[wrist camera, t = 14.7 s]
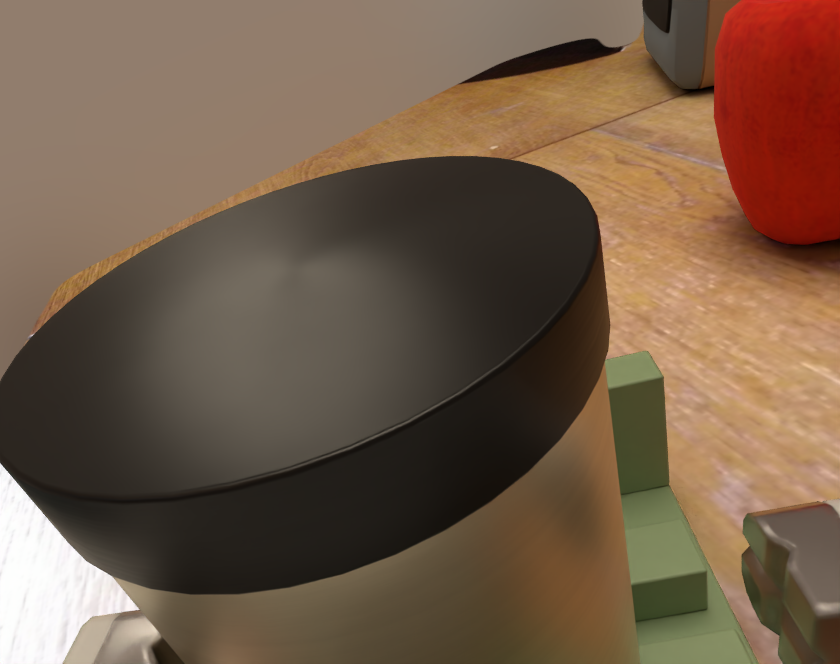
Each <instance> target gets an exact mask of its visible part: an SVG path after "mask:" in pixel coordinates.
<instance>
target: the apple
mask: <svg viewBox="0 0 840 664" xmlns="http://www.w3.org/2000/svg"><path fill="white" fill-rule="evenodd" d="M714 119H715V124H716V129H717V134H718V139H719V144H720V148H721V153H722V157H723V160H724V163H725V166H726V169H727V173H728V176H729V179H730V182H731V185H732V188H733V190H734V193H735V195H736V197H737V199H738V201H739V203H740V205H741V207H742V209H743V211H744V213H745V215H746V217H747V218H748V220H749V221H750V223H751V225H752V226H753V228H754V229H755V230H757V231H758V232H760V233H762V234H764V235H766V236H768V237H769V238H771V239H774V240H776V241H779V242H782V243H784V244H799V245H808V244H813V243H818V242H824V241H829V240H835V239H840V0H741V1H740V2H738V3H737V4H736V5H735V6H734V7H733V8H731V9H730V10H729V11H728V12H727V13H726V14H725V17H724V20H723V23H722V27H721V30H720V33H719V36H718V40H717V43H716V46H715V75H714Z"/></svg>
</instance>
